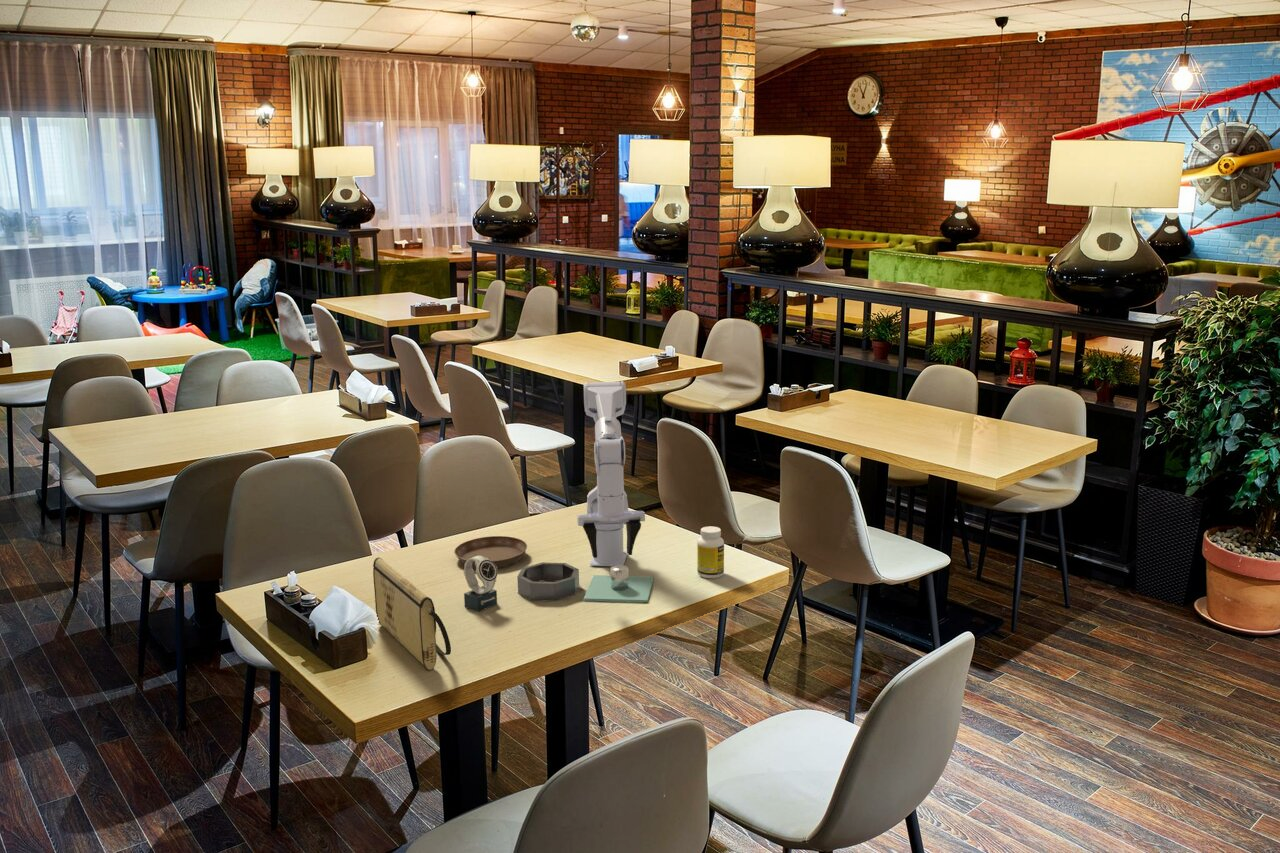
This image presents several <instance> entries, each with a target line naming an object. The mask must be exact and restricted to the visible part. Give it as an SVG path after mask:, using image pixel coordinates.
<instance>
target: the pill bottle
mask: <svg viewBox="0 0 1280 853" xmlns="http://www.w3.org/2000/svg"><path fill="white" fill-rule="evenodd" d="M721 536H722V530H721V528H720V527H718V526H710V525H709V526H703V527H702V528H700V537H699V538H698V539H697V544H696V546H697V548H696V549H697V550H696V551H697V552H696V553H697V560H696V561H697V562H696V564H697V567H696V569H697V574H698V576H699V577H701V578H704V579H705V578H706V579H718V578H721V577H722V576H723V575H724V572H725V541H724V539H723V538H722V537H721Z"/></svg>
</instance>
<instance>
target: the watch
mask: <svg viewBox="0 0 1280 853" xmlns="http://www.w3.org/2000/svg"><path fill="white" fill-rule="evenodd" d="M474 560H475V565H476V568H475V570H474V569H473V567H472V563H473V561H474ZM463 568H464V572H463V573H464V576H465V581H466V583H467V585H468V588H469V589H471V590H469V591H466V592H464V593H463V596H464V597H463V600H464V607H465V608H467V609H470V610H471V611H472V610H473V611H475V612H480V611H483V610H486V609H487V608H491V607H493V606H496V605H498V596H497V595H498V594H497V590H496V589H494V587H495V585H496V582H497V576H498V574H499V573H498V568H497V566H496V565H495V564H494V563H493V562H492V561H490V560H489V559H487V558H485V557H483V556H475V557H473V558H470V559H468V560H467V561H466V562H465V564H464V567H463ZM476 575H477V576H476ZM477 578H478V579H479V580H480V581H481V583H482V584H483V585H482V586H480V585H479V581H478V579H477ZM485 608H486V609H485Z"/></svg>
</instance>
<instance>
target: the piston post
mask: <svg viewBox="0 0 1280 853" xmlns="http://www.w3.org/2000/svg"><path fill="white" fill-rule="evenodd" d="M609 574H610V576H611V589H613V590H617V591H622V590H626V589H628V588H629V584H628V576H629V566H626V565H616V566H610V572H609Z"/></svg>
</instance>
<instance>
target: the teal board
mask: <svg viewBox="0 0 1280 853" xmlns="http://www.w3.org/2000/svg"><path fill="white" fill-rule="evenodd" d="M654 580H655V579H654V576H641V575H639V576H637V575H634V576H633V575H631V576H630V575H628V584H629V588H628V589H626V590H622V591H617V590H613V589H611V575H604V574H603V575H599V574H597V575H596V574H594V575H592V578H591V580H590V583H589V585H588V587H587V589H586V592H585V595H584V597H583V601H584V602H608V603H609V602H610V603H611V602H612V603H614V602H615V603H640V602H647V603H648V602H649V600H650V594H651V590H652V587H653V584H652V583H654Z"/></svg>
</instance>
